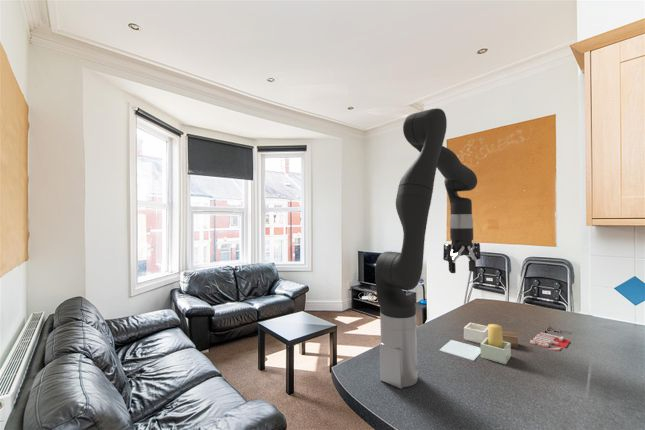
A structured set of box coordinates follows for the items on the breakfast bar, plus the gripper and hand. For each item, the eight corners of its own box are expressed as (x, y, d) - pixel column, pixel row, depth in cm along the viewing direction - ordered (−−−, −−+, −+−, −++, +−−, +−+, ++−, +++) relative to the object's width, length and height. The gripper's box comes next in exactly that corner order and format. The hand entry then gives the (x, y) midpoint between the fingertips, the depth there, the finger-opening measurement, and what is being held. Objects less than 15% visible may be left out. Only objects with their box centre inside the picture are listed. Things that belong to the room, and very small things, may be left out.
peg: (501, 360, 84) (500, 329, 84) (487, 356, 86) (486, 326, 86) (504, 356, 86) (503, 325, 87) (490, 352, 89) (489, 323, 89)
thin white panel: (473, 363, 84) (473, 360, 84) (439, 352, 91) (439, 349, 91) (484, 351, 91) (483, 348, 91) (451, 342, 98) (451, 339, 98)
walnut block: (517, 350, 92) (517, 337, 92) (503, 348, 93) (502, 335, 93) (515, 345, 95) (515, 332, 95) (501, 343, 97) (500, 331, 97)
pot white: (484, 346, 95) (484, 332, 95) (464, 340, 99) (463, 327, 99) (490, 340, 99) (490, 326, 99) (470, 335, 104) (469, 322, 104)
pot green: (505, 366, 82) (505, 350, 82) (480, 359, 86) (480, 343, 86) (511, 358, 86) (510, 342, 86) (487, 351, 91) (486, 337, 91)
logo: (544, 321, 111) (579, 329, 103) (544, 326, 111) (579, 334, 103) (520, 340, 96) (559, 350, 88) (520, 345, 96) (559, 356, 88)
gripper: (452, 227, 99) (453, 275, 99) (485, 226, 104) (486, 272, 103) (437, 227, 107) (438, 271, 106) (469, 226, 111) (470, 269, 110)
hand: (462, 272), depth 105 cm, fingers open, 8 cm apart
